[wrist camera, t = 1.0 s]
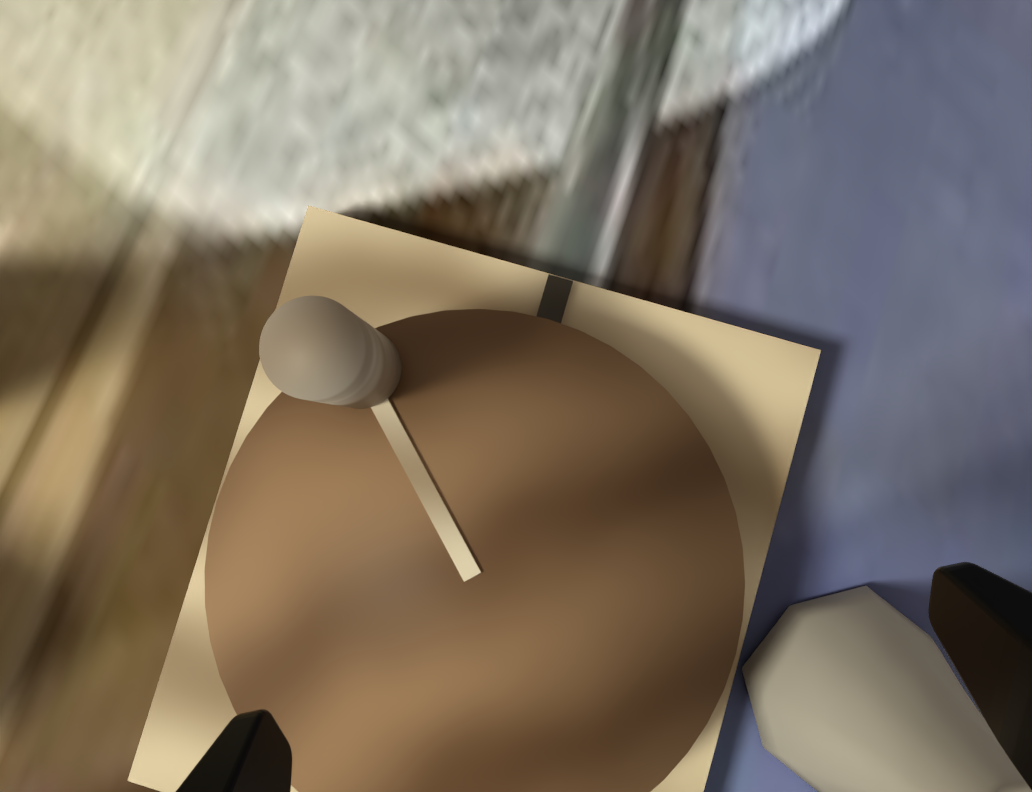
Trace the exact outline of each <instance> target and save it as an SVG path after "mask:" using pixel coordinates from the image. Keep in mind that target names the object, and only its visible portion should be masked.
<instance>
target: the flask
mask: <svg viewBox="0 0 1032 792" xmlns="http://www.w3.org/2000/svg"><path fill="white" fill-rule="evenodd" d="M742 672H743V675H744V679H745V683H746V686H747V690H748V694H749V697H750V701H751V705H752V708H753V712H754V715H755V719H756V723H757V726H758V730H759V734H760V737H761V741H762V745H763V748H765V749H766V750H767V751H768V752H770V753H771V754H772V755H773V756H775V757H776V758H777V759H778V760H779V761H781V762H782V763H783V764H784V765H786V766H787V767H788V768H789V769H791V770H792V771H793V772H794V773H795V774H797V775H798V776H799V777H800V778H802V779H803V780H804V781H805V782H807V783H808V784H809V785H810V786H812V787H813V788H814V789H815V790H816V791H818V792H1032V790H1031V789H1030V787H1029V786H1028V785H1027V783H1026V782H1025V780H1024V779H1023V777H1022V776H1021V775H1020V773H1019V772H1018V770H1017V769H1016V768H1015V766H1014V765H1013V763H1012V762H1011V760H1010V759H1009V757H1008V756H1007V754H1006V753H1005V751H1004V750H1003V748H1002V747H1001V745H1000V744H999V743H998V741H997V739H996V738H995V736H994V734H993V733H992V731H991V729H990V728H989V726H988V724H987V723H986V721H985V719H984V718H983V717H982V715H981V714H980V712H979V711H978V709H977V708H976V706H975V705H974V704H973V702H972V701H971V699H970V698H969V696H968V695H967V693H966V692H965V690H964V689H963V688H962V686H961V684H960V683H959V681H958V679H957V678H956V676H955V674H954V673H953V671H952V669H951V668H950V666H949V664H948V663H947V661H946V660H945V658H944V656H943V655H942V653H941V651H940V650H939V648H938V647H937V645H936V644H935V642H934V641H933V639H932V638H931V636H930V635H928V634H927V633H926V632H924V631H923V630H922V629H921V628H919V627H918V626H917V625H916V624H914V623H913V622H912V621H910V620H909V619H908V618H907V617H905V616H904V615H903V614H902V613H900V612H899V611H898V610H897V609H895V608H894V607H893V606H891V605H890V604H889V603H888V602H886V601H885V600H884V599H883V598H881V597H880V596H879V595H877V594H876V593H875V592H874V591H872V590H871V589H870V588H869V587H867V586H863V587H859V588H855V589H851V590H847V591H843V592H839V593H836V594H832V595H828V596H824V597H820V598H816V599H812V600H809V601H805V602H801V603H797V604H793V605H790V606H789V607H788V608H787V610H786V611H785V612H784V613H783V615H782V616H781V617H780V619H779V620H778V621H777V623H776V624H775V625H774V627H773V628H772V629H771V630H770V632H769V633H768V634H767V636H766V637H765V638H764V640H763V641H762V642H761V643H760V645H759V646H758V647H757V649H756V650H755V651H754V653H753V654H752V655H751V656H750V658H749V659H748V660H747V662H746V663H745V664H744V666H743V667H742Z"/></svg>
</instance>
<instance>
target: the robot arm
mask: <svg viewBox="0 0 1032 792" xmlns="http://www.w3.org/2000/svg"><path fill="white" fill-rule="evenodd" d="M929 618H930V622H931V624H932V627H933V629H934V631H935V633H936V635H937V636H938V638H939V640H940V642H941V643H942V645H943V647H944V649H945V650H946V652H947V654H948V656H949V657H950V659H951V661H952V663H953V665H954V666H955V668H956V670H957V672H958V673H959V675H960V677H961V679H962V680H963V682H964V684H965V686H966V687H967V689H968V691H969V693H970V694H971V696H972V698H973V700H974V702H975V703H976V705H977V707H978V709H979V710H980V712H981V714H982V716H983V717H984V719H985V721H986V723H987V724H988V726H989V728H990V729H991V731H992V733H993V734H994V736H995V738H996V739H997V741H998V743H999V744H1000V745H1001V747H1002V748H1003V750H1004V751H1005V753H1006V754H1007V756H1008V757H1009V759H1010V760H1011V762H1012V763H1013V765H1014V766H1015V768H1016V769H1017V770H1018V772H1019V773H1020V775H1021V776H1022V777H1023V779H1024V780H1025V782H1026V783H1027V785H1028V786H1029V787H1030V789H1031V790H1032V593H1031V592H1029V591H1027V590H1025V589H1023V588H1021V587H1019V586H1017V585H1015V584H1013V583H1011V582H1009V581H1007V580H1006V579H1004V578H1002V577H1000V576H998V575H996V574H994V573H992V572H990V571H988V570H986V569H984V568H982V567H980V566H978V565H975V564H973V563H969V562H961V563H957V564H952V565H947V566H942V567H939V568H937V569H936V571H935V572H934V574H933V580H932V587H931V595H930V602H929ZM291 776H292V751H291V747H290V744H289V742H288V740H287V739H286V737H285V735H284V734H283V732H282V730H281V729H280V727H279V726H278V724H277V722H276V721H275V719H274V717H273V716H272V714H271V713H270V712H269V711H267V710H266V709H259V710H254V711H249V712H245V713H241V714H238V715H236V716H235V717H234V718H233V719H232V720H231V721H230V722H229V723H228V724H227V726H226V727H225V728H224V730H223V731H222V732H221V734H220V735H219V736H218V737H217V739H216V740H215V741H214V743H213V744H212V745H211V746H210V748H209V749H208V750H207V752H206V753H205V754H204V756H203V757H202V758H201V759H200V761H199V762H198V763H197V765H196V766H195V767H194V769H193V770H192V771H191V772H190V774H189V775H188V776H187V778H186V779H185V780H184V781H183V783H182V784H181V785H180V787H179V788H178V789H177V791H176V792H290V791H291Z"/></svg>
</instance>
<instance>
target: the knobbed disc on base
mask: <svg viewBox="0 0 1032 792" xmlns="http://www.w3.org/2000/svg"><path fill="white" fill-rule="evenodd" d="M259 354H260V361H261V364H262V367H263V369H264V372H265V374H266V375H267V377H268V378H269V380H270V381H271V382H272V383H273V384H274V385H275V386H276V387H277V388H278V389H279V390H281V391H282V392H281V393H280V394H279V395H278V396H277V397H276V398H275V399H274V401H273V402H272V403H271V404H270V405H269V406H268V407H267V408H266V410H265V411H264V412H263V414H262V415H261V417H260V418H259V419H258V421H257V422H256V424H255V425H254V426H253V428H252V429H251V430H250V432H249V433H248V435H247V436H246V438H245V440H244V442H243V443H242V445H241V447H240V449H239V451H238V453H237V455H236V456H235V458H234V460H233V462H232V464H231V466H230V468H229V470H228V473H227V475H226V478H225V481H224V483H223V486H222V488H221V491H220V494H219V496H218V499H217V502H216V506H215V510H214V514H213V518H212V522H211V526H210V530H209V535H208V543H207V552H206V561H205V570H204V571H205V609H206V616H207V623H208V630H209V637H210V643H211V646H212V650H213V653H214V657H215V661H216V664H217V668H218V671H219V675H220V678H221V680H222V682H223V685H224V687H225V689H226V692H227V694H228V696H229V699H230V701H231V704H232V706H233V708H234V710H235V712H236V714H237V715H238V714H241V713H245V712H249V711H254V710H259V709H266V710H267V711H269V712H270V713H271V714H272V716H273V717H274V719H275V721H276V722H277V724H278V726H279V727H280V729H281V730H282V732H283V734H284V735H285V737H286V739H287V740H288V742H289V744H290V747H291V751H292V776H291V785H292V786H293V787H294V788H295V789H296V790H297V791H298V792H651V791H652V790H653V789H654V788H655V787H656V786H658V785H659V784H660V783H661V782H662V781H663V780H664V779H665V778H666V777H667V776H668V775H669V774H670V772H671V771H672V770H673V769H674V768H675V767H676V766H677V764H678V763H679V762H680V761H681V760H682V759H683V758H684V757H685V755H686V754H687V753H688V752H689V750H690V749H691V747H692V746H693V744H694V743H695V741H696V740H697V738H698V737H699V735H700V734H701V732H702V731H703V729H704V728H705V726H706V725H707V723H708V721H709V719H710V717H711V715H712V713H713V711H714V709H715V707H716V705H717V703H718V701H719V699H720V697H721V695H722V693H723V691H724V689H725V686H726V683H727V680H728V677H729V674H730V671H731V668H732V665H733V662H734V659H735V656H736V651H737V646H738V641H739V636H740V631H741V626H742V621H743V608H744V593H745V574H744V559H743V546H742V541H741V536H740V531H739V526H738V521H737V516H736V511H735V508H734V505H733V502H732V499H731V496H730V493H729V490H728V487H727V484H726V481H725V478H724V476H723V474H722V472H721V470H720V468H719V466H718V464H717V462H716V460H715V458H714V456H713V454H712V452H711V449H710V447H709V446H708V444H707V443H706V441H705V439H704V438H703V436H702V435H701V433H700V432H699V430H698V429H697V427H696V426H695V424H694V423H693V421H692V420H691V418H690V417H689V415H688V414H687V413H686V412H685V411H684V410H683V408H682V407H681V406H680V405H679V404H678V403H677V401H676V400H675V399H674V398H673V397H672V396H671V394H670V393H669V392H668V391H667V390H666V389H665V388H664V387H663V386H662V385H661V384H659V383H658V382H657V381H656V380H655V379H654V378H653V377H652V376H651V375H649V374H648V373H647V372H646V371H645V370H644V369H643V368H642V367H641V366H639V365H638V364H636V363H635V362H633V361H632V360H630V359H629V358H628V357H626V356H625V355H623V354H622V353H620V352H619V351H617V350H616V349H614V348H613V347H612V346H610V345H608V344H606V343H604V342H602V341H600V340H598V339H596V338H594V337H592V336H590V335H588V334H586V333H584V332H582V331H580V330H577V329H575V328H572V327H569V326H566V325H563V324H561V323H558V322H555V321H552V320H549V319H546V318H541V317H536V316H532V315H527V314H523V313H518V312H512V311H500V310H488V309H464V310H444V311H439V312H433V313H428V314H422V315H416V316H411V317H408V318H405V319H401V320H398V321H395V322H392V323H389V324H386V325H382V326H379V327H377V328H374V327H372V326H371V325H369V324H368V323H367V322H365V321H364V320H363V319H361V318H360V317H358V316H357V315H356V314H354V313H353V312H351V311H350V310H349V309H347V308H346V307H344V306H343V305H342V304H340V303H339V302H337V301H335V300H333V299H330V298H327V297H322V296H314V295H313V296H303V297H298V298H295V299H293V300H290V301H288V302H286V303H285V304H283V305H282V306H280V307H279V308H278V309H277V310H276V311H275V312H274V313H273V314H272V315H271V316H270V318H269V319H268V320H267V322H266V324H265V326H264V328H263V331H262V333H261V337H260V344H259Z"/></svg>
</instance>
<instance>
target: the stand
mask: <svg viewBox="0 0 1032 792" xmlns="http://www.w3.org/2000/svg"><path fill="white" fill-rule="evenodd" d="M313 295H314V296H322V297H327V298H330V299H333V300H335V301H337V302H339V303H340V304H342V305H343V306H344V307H346V308H347V309H349V310H350V311H351V312H353V313H354V314H356V315H357V316H358V317H360V318H361V319H363V320H364V321H365V322H367V323H368V324H369V325H371V326H372V327H374V328H377V327H379V326H382V325H386V324H389V323H392V322H395V321H398V320H401V319H405V318H408V317H411V316H416V315H422V314H428V313H433V312H439V311H444V310H464V309H488V310H500V311H512V312H518V313H523V314H527V315H532V316H536V317H541V318H546V319H549V320H552V321H555V322H558V323H561V324H563V325H566V326H569V327H572V328H575V329H577V330H580V331H582V332H584V333H586V334H588V335H590V336H592V337H594V338H596V339H598V340H600V341H602V342H604V343H606V344H608V345H610V346H612V347H613V348H614V349H616V350H617V351H619V352H620V353H622V354H623V355H625V356H626V357H628V358H629V359H630V360H632V361H633V362H635V363H636V364H638V365H639V366H641V367H642V368H643V369H644V370H645V371H646V372H647V373H648V374H649V375H651V376H652V377H653V378H654V379H655V380H656V381H657V382H658V383H659V384H661V385H662V386H663V387H664V388H665V389H666V390H667V391H668V392H669V393H670V394H671V396H672V397H673V398H674V399H675V400H676V401H677V403H678V404H679V405H680V406H681V407H682V408H683V410H684V411H685V412H686V413H687V414H688V415H689V417H690V418H691V420H692V421H693V423H694V424H695V426H696V427H697V429H698V430H699V432H700V433H701V435H702V436H703V438H704V439H705V441H706V443H707V444H708V446H709V447H710V449H711V452H712V454H713V456H714V458H715V460H716V462H717V464H718V466H719V468H720V470H721V472H722V474H723V476H724V478H725V481H726V484H727V487H728V490H729V493H730V496H731V499H732V502H733V505H734V508H735V511H736V516H737V521H738V526H739V531H740V536H741V541H742V546H743V559H744V574H745V593H744V608H743V621H742V626H741V631H740V636H739V641H738V646H737V651H736V656H735V659H734V662H733V665H732V668H731V671H730V674H729V677H728V680H727V683H726V686H725V689H724V691H723V693H722V695H721V697H720V699H719V701H718V703H717V705H716V707H715V709H714V711H713V713H712V715H711V717H710V719H709V721H708V723H707V725H706V726H705V728H704V729H703V731H702V732H701V734H700V735H699V737H698V738H697V740H696V741H695V743H694V744H693V746H692V747H691V749H690V750H689V752H688V753H687V754H686V755H685V757H684V758H683V759H682V760H681V761H680V762H679V763H678V764H677V766H676V767H675V768H674V769H673V770H672V771H671V772H670V774H669V775H668V776H667V777H666V778H665V779H664V780H663V781H662V782H661V783H660V784H659V785H658V786H656V787H655V788H654V789H653V790H652V791H651V792H704V788H705V785H706V781H707V777H708V773H709V770H710V766H711V762H712V758H713V755H714V751H715V747H716V743H717V739H718V736H719V732H720V728H721V724H722V721H723V717H724V713H725V709H726V706H727V702H728V698H729V694H730V691H731V687H732V683H733V679H734V676H735V672H736V668H737V664H738V661H739V657H740V653H741V649H742V646H743V642H744V638H745V634H746V631H747V627H748V623H749V619H750V615H751V612H752V608H753V604H754V600H755V597H756V593H757V589H758V585H759V582H760V578H761V574H762V570H763V567H764V563H765V559H766V555H767V552H768V548H769V544H770V540H771V537H772V533H773V529H774V525H775V522H776V518H777V514H778V510H779V507H780V503H781V499H782V495H783V492H784V488H785V484H786V480H787V476H788V473H789V469H790V465H791V461H792V458H793V454H794V450H795V446H796V443H797V439H798V435H799V431H800V428H801V424H802V420H803V416H804V413H805V409H806V405H807V401H808V398H809V394H810V390H811V386H812V383H813V379H814V375H815V371H816V368H817V364H818V360H819V356H820V352H821V350H818V349H815V348H811V347H808V346H804V345H801V344H797V343H793V342H790V341H786V340H783V339H779V338H776V337H772V336H769V335H765V334H762V333H758V332H754V331H751V330H747V329H744V328H740V327H737V326H733V325H730V324H726V323H723V322H719V321H716V320H712V319H708V318H705V317H701V316H698V315H694V314H691V313H687V312H684V311H680V310H677V309H673V308H670V307H666V306H662V305H659V304H655V303H652V302H648V301H645V300H641V299H638V298H634V297H631V296H627V295H623V294H620V293H616V292H613V291H609V290H606V289H602V288H599V287H595V286H592V285H588V284H585V283H581V282H577V281H574V280H570V279H567V278H563V277H560V276H556V275H553V274H549V273H546V272H542V271H538V270H535V269H531V268H528V267H524V266H521V265H517V264H514V263H510V262H507V261H503V260H500V259H496V258H492V257H489V256H485V255H482V254H478V253H475V252H471V251H468V250H464V249H461V248H457V247H453V246H450V245H446V244H443V243H439V242H436V241H432V240H429V239H425V238H422V237H418V236H415V235H411V234H407V233H404V232H400V231H397V230H393V229H390V228H386V227H383V226H379V225H376V224H372V223H368V222H365V221H361V220H358V219H354V218H351V217H347V216H344V215H340V214H337V213H333V212H330V211H326V210H322V209H319V208H315V207H312V206H308V208H307V212H306V215H305V218H304V221H303V224H302V227H301V231H300V234H299V237H298V240H297V243H296V247H295V250H294V253H293V256H292V259H291V262H290V266H289V269H288V272H287V275H286V278H285V282H284V285H283V288H282V291H281V294H280V297H279V301H278V304H277V307H276V310H277V309H278V308H279V307H280V306H282V305H283V304H285V303H286V302H288V301H290V300H293V299H295V298H298V297H303V296H313ZM276 310H275V311H276ZM281 392H282V391H281V390H279V389H278V388H277V387H276V386H275V385H274V384H273V383H272V382H271V381H270V380H269V378H268V377H267V375H266V374H265V372H264V369H263V367H262V364H261V361H259V364H258V367H257V371H256V374H255V377H254V380H253V383H252V386H251V390H250V393H249V396H248V399H247V402H246V406H245V409H244V412H243V415H242V418H241V421H240V425H239V428H238V431H237V434H236V437H235V441H234V444H233V447H232V450H231V453H230V456H229V460H228V463H227V466H226V469H225V472H224V476H223V479H222V482H221V485H220V488H219V491H218V495H217V498H216V501H215V504H214V507H213V510H212V514H211V517H210V520H209V523H208V526H207V530H206V533H205V536H204V539H203V542H202V545H201V549H200V552H199V555H198V558H197V561H196V565H195V568H194V571H193V574H192V577H191V580H190V584H189V587H188V590H187V593H186V596H185V600H184V603H183V606H182V609H181V612H180V615H179V619H178V622H177V625H176V628H175V631H174V635H173V638H172V641H171V644H170V647H169V650H168V654H167V657H166V660H165V663H164V666H163V670H162V673H161V676H160V679H159V682H158V685H157V689H156V692H155V695H154V698H153V701H152V705H151V708H150V711H149V714H148V717H147V720H146V724H145V727H144V730H143V733H142V736H141V739H140V743H139V746H138V749H137V752H136V755H135V759H134V762H133V765H132V768H131V771H130V774H129V778H128V781H130V782H133V783H136V784H139V785H142V786H145V787H149V788H152V789H155V790H158V791H161V792H176V791H177V789H178V788H179V787H180V785H181V784H182V783H183V781H184V780H185V779H186V778H187V776H188V775H189V774H190V772H191V771H192V770H193V769H194V767H195V766H196V765H197V763H198V762H199V761H200V759H201V758H202V757H203V756H204V754H205V753H206V752H207V750H208V749H209V748H210V746H211V745H212V744H213V743H214V741H215V740H216V739H217V737H218V736H219V735H220V734H221V732H222V731H223V730H224V728H225V727H226V726H227V724H228V723H229V722H230V721H231V720H232V719H233V718H234V717H235V716H236V715H237V714H236V712H235V710H234V708H233V706H232V704H231V701H230V699H229V696H228V694H227V692H226V689H225V687H224V685H223V682H222V680H221V678H220V675H219V671H218V668H217V664H216V661H215V657H214V653H213V650H212V646H211V643H210V637H209V630H208V623H207V616H206V609H205V571H204V570H205V561H206V552H207V543H208V535H209V530H210V526H211V522H212V518H213V514H214V510H215V506H216V502H217V499H218V496H219V494H220V491H221V488H222V486H223V483H224V481H225V478H226V475H227V473H228V470H229V468H230V466H231V464H232V462H233V460H234V458H235V456H236V455H237V453H238V451H239V449H240V447H241V445H242V443H243V442H244V440H245V438H246V436H247V435H248V433H249V432H250V430H251V429H252V428H253V426H254V425H255V424H256V422H257V421H258V419H259V418H260V417H261V415H262V414H263V412H264V411H265V410H266V408H267V407H268V406H269V405H270V404H271V403H272V402H273V401H274V399H275V398H276V397H277V396H278V395H279V394H280V393H281ZM290 792H298V791H297V790H296V789H295V788H294V787H293V786H292V785H291V791H290Z"/></svg>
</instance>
